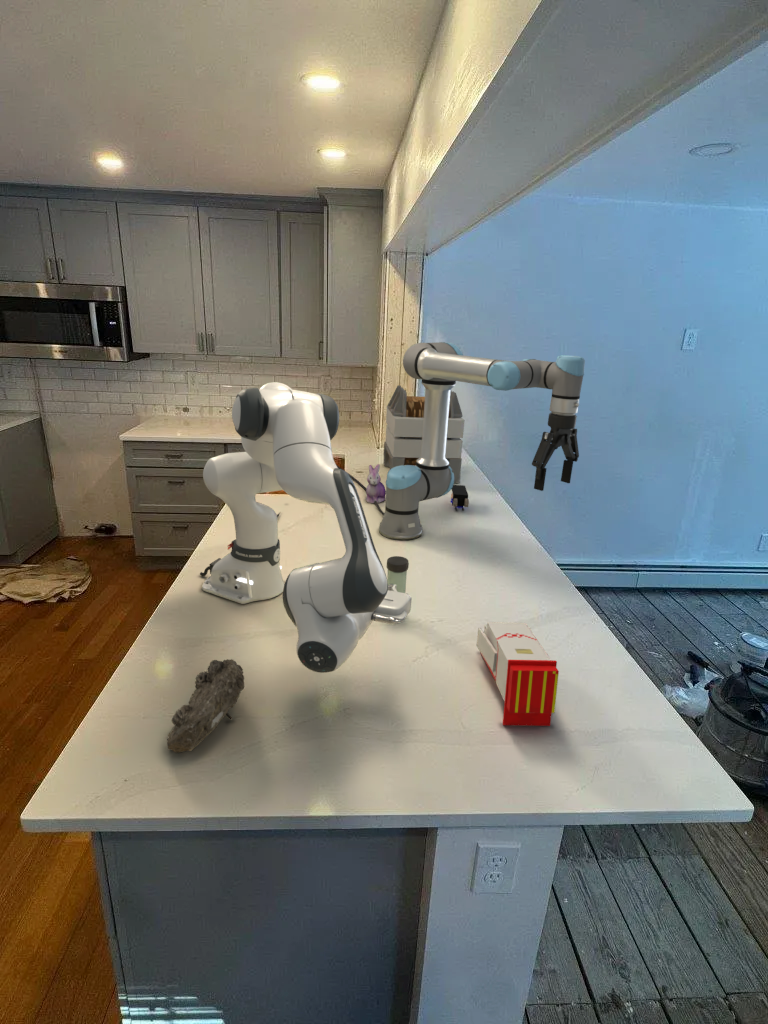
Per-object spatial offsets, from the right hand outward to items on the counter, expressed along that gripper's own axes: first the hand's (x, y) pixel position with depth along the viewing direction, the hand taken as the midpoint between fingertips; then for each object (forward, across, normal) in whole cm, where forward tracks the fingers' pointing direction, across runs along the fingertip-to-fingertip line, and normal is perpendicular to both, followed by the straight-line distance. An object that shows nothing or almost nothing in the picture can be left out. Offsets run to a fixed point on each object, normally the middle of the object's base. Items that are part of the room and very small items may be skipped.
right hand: (552, 485), depth 166 cm
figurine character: (+28, +25, +56) cm, 67 cm away
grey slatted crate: (+28, +46, +101) cm, 115 cm away
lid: (+13, -53, +8) cm, 55 cm away
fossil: (+28, -107, 0) cm, 110 cm away
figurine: (+28, +2, +81) cm, 86 cm away
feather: (+28, -40, +87) cm, 100 cm away
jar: (+28, -53, +8) cm, 60 cm away
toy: (+28, -52, -29) cm, 66 cm away
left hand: (+9, -71, -4) cm, 72 cm away
